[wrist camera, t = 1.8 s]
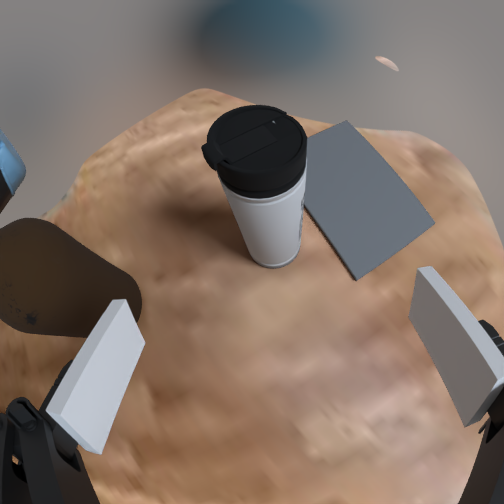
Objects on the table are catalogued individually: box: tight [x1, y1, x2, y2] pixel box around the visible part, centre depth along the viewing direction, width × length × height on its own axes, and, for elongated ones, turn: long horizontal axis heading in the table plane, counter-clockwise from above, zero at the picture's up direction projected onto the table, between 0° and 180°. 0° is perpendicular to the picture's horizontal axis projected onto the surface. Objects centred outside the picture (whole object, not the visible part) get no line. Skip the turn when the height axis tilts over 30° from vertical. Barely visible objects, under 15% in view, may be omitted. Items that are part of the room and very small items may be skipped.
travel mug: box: [201, 105, 307, 269], centre depth 26 cm, size 6×7×20 cm
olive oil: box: [0, 218, 142, 338], centre depth 23 cm, size 11×11×25 cm
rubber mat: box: [304, 121, 435, 281], centre depth 36 cm, size 20×14×1 cm
